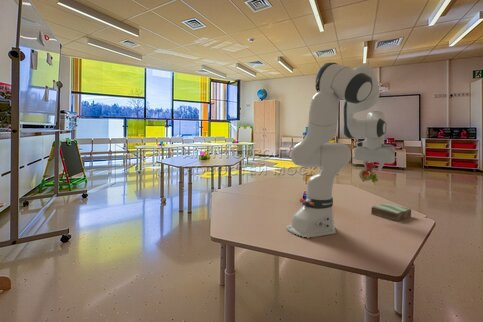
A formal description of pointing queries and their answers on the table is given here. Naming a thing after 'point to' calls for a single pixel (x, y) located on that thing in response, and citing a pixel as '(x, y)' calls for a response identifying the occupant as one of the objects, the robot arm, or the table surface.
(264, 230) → the table surface
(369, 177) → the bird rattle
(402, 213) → the sage green square tile
